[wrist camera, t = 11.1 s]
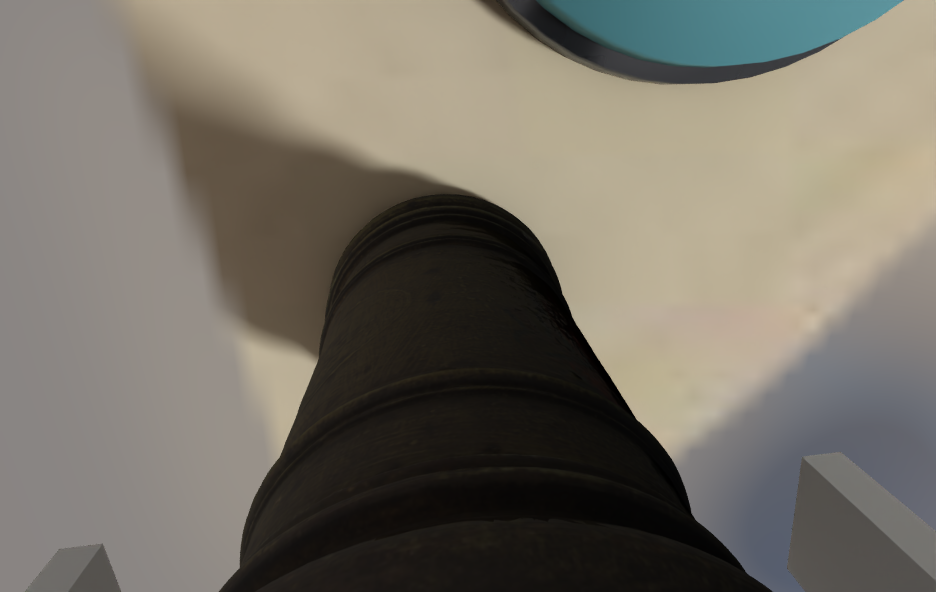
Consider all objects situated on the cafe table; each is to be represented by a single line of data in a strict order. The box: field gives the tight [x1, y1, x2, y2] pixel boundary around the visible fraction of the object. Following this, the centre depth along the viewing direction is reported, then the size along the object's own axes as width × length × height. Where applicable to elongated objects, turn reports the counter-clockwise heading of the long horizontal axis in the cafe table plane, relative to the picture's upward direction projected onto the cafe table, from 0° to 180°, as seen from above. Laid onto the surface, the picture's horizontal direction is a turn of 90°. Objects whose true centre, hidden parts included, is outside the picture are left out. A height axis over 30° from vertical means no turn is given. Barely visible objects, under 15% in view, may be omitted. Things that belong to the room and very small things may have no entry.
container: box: [219, 194, 772, 592], centre depth 14 cm, size 9×9×18 cm
